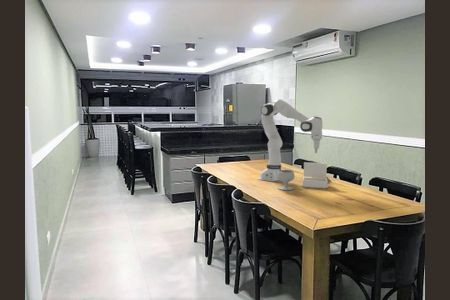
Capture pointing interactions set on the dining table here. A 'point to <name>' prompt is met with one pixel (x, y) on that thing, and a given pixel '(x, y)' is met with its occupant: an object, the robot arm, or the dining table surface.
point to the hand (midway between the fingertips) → (315, 152)
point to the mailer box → (315, 182)
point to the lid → (315, 169)
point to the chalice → (285, 178)
